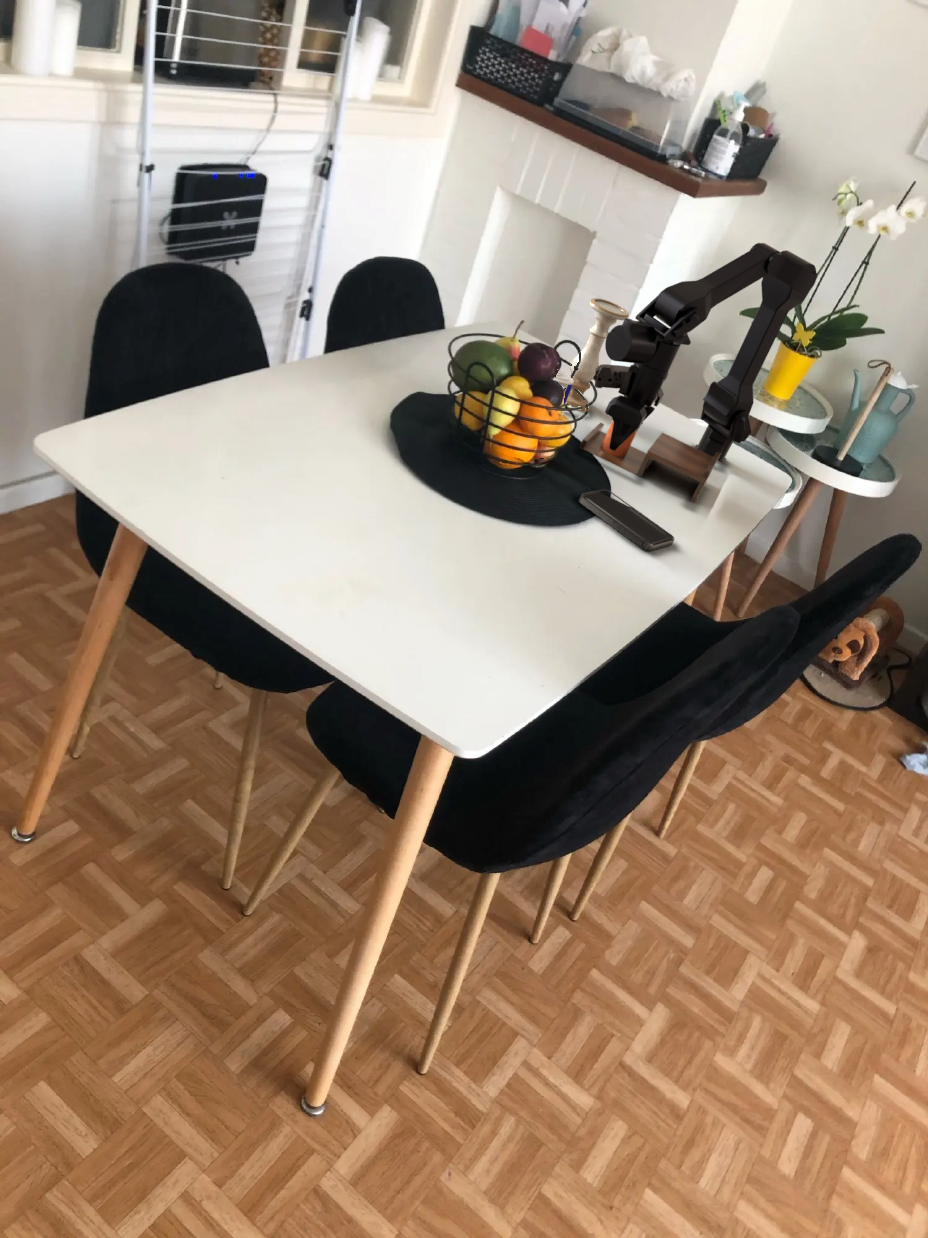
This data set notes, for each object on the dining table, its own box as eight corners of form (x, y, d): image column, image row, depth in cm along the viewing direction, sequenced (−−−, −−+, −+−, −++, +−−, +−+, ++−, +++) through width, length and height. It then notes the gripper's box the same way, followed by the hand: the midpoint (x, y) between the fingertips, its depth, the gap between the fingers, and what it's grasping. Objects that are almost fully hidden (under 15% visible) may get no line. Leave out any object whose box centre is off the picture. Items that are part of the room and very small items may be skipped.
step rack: (594, 435, 186) (610, 400, 182) (703, 487, 182) (721, 453, 179) (576, 452, 176) (592, 416, 172) (691, 509, 172) (710, 472, 169)
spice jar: (604, 440, 182) (618, 410, 179) (629, 452, 181) (643, 422, 178) (597, 447, 178) (611, 417, 175) (622, 460, 177) (636, 429, 174)
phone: (650, 546, 152) (578, 493, 159) (647, 552, 152) (576, 499, 159) (677, 538, 157) (607, 488, 164) (674, 544, 158) (604, 494, 165)
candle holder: (541, 402, 191) (582, 300, 180) (554, 391, 198) (594, 292, 187) (583, 421, 190) (626, 320, 179) (594, 410, 197) (637, 312, 186)
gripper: (623, 334, 180) (589, 412, 188) (596, 354, 164) (560, 438, 172) (679, 360, 178) (643, 438, 186) (658, 383, 162) (619, 467, 171)
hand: (616, 444), depth 179 cm, fingers open, 6 cm apart
